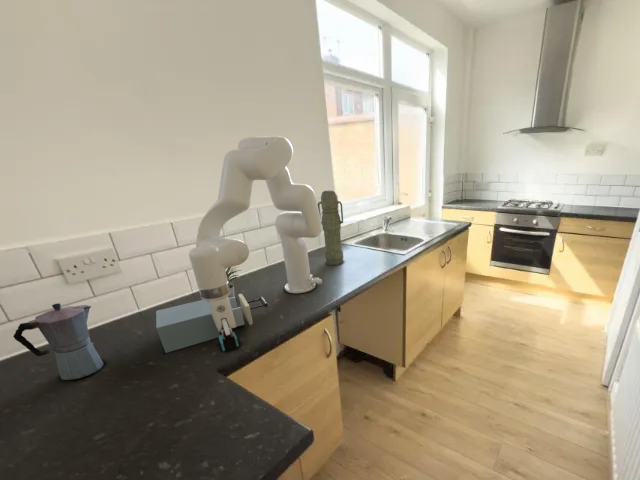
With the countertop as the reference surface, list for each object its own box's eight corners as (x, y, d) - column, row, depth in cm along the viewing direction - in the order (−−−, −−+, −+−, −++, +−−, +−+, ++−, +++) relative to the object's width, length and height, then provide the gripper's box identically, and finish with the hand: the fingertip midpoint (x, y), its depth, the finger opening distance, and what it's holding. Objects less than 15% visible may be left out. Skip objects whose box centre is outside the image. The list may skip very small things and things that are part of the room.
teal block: (236, 339, 99) (233, 331, 98) (238, 346, 96) (236, 337, 94) (220, 344, 97) (218, 335, 95) (223, 351, 93) (220, 342, 92)
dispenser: (217, 319, 111) (211, 297, 107) (223, 336, 101) (216, 312, 97) (164, 334, 103) (156, 310, 99) (165, 353, 93) (156, 328, 90)
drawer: (263, 305, 117) (259, 289, 115) (272, 318, 109) (268, 300, 106) (200, 322, 107) (195, 304, 104) (204, 337, 99) (199, 318, 96)
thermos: (323, 260, 165) (315, 190, 151) (346, 258, 166) (340, 189, 152) (322, 266, 157) (314, 193, 143) (346, 264, 158) (341, 192, 144)
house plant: (230, 314, 114) (219, 271, 107) (197, 310, 117) (185, 269, 110) (253, 296, 127) (245, 258, 120) (223, 294, 130) (213, 256, 123)
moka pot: (123, 358, 91) (95, 295, 83) (59, 394, 78) (18, 325, 70) (101, 352, 94) (72, 291, 86) (35, 386, 81) (-6, 318, 73)
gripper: (235, 297, 84) (248, 354, 91) (224, 277, 97) (237, 328, 104) (203, 305, 80) (220, 363, 88) (196, 283, 93) (212, 336, 101)
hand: (229, 344), depth 96 cm, fingers closed on teal block, 4 cm apart
